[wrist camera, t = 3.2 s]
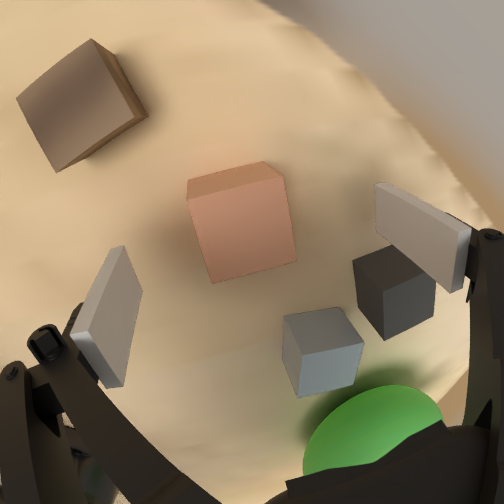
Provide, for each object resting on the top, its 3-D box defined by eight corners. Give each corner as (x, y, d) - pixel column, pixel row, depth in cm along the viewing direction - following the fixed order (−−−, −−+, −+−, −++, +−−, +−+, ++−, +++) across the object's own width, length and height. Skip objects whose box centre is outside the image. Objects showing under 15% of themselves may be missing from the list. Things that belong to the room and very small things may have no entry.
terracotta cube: (275, 229, 23) (296, 260, 18) (206, 247, 22) (211, 284, 18) (262, 161, 20) (283, 176, 16) (187, 179, 20) (186, 200, 15)
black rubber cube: (403, 286, 27) (433, 316, 23) (357, 306, 27) (384, 340, 23) (401, 240, 25) (436, 266, 21) (351, 260, 25) (382, 291, 20)
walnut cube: (148, 116, 18) (134, 117, 13) (85, 158, 18) (56, 173, 13) (113, 54, 15) (90, 38, 11) (52, 99, 16) (15, 98, 11)
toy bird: (337, 354, 29) (405, 477, 16) (436, 360, 34) (497, 438, 21) (269, 450, 35) (297, 546, 22) (366, 443, 40) (402, 515, 27)
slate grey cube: (332, 348, 29) (352, 385, 24) (281, 357, 28) (297, 398, 24) (339, 306, 27) (364, 342, 22) (284, 315, 26) (302, 355, 21)
